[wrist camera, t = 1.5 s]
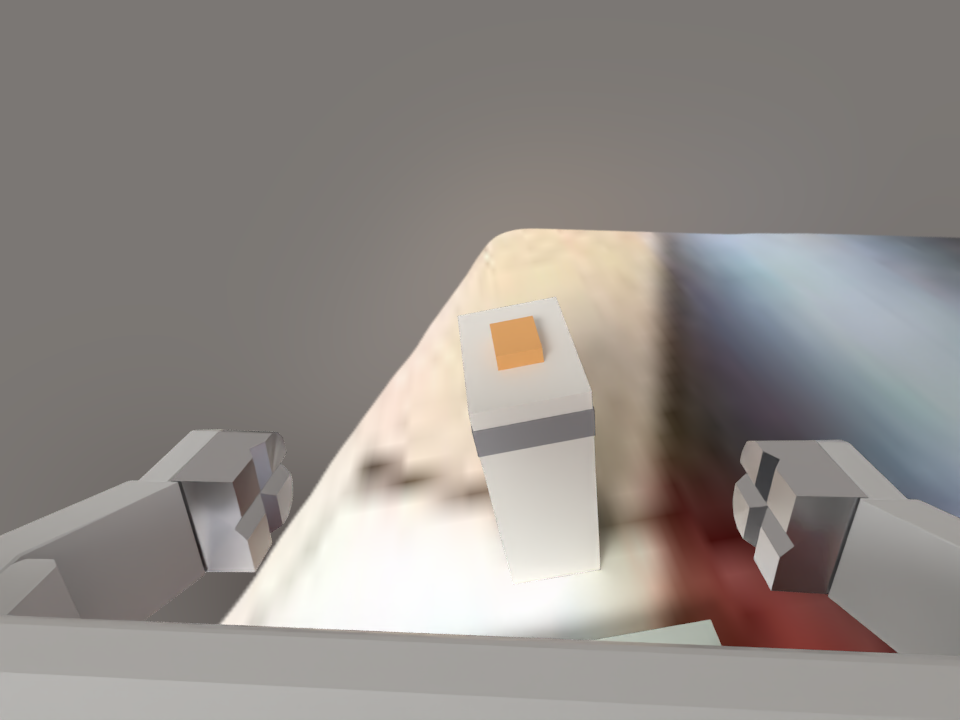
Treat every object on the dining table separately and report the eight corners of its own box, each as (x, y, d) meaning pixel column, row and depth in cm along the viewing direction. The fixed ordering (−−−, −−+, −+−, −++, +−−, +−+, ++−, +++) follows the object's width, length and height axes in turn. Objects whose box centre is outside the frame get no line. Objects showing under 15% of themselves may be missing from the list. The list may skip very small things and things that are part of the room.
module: (601, 570, 30) (592, 377, 21) (512, 586, 30) (463, 401, 21) (572, 470, 36) (555, 282, 26) (497, 484, 36) (453, 302, 27)
